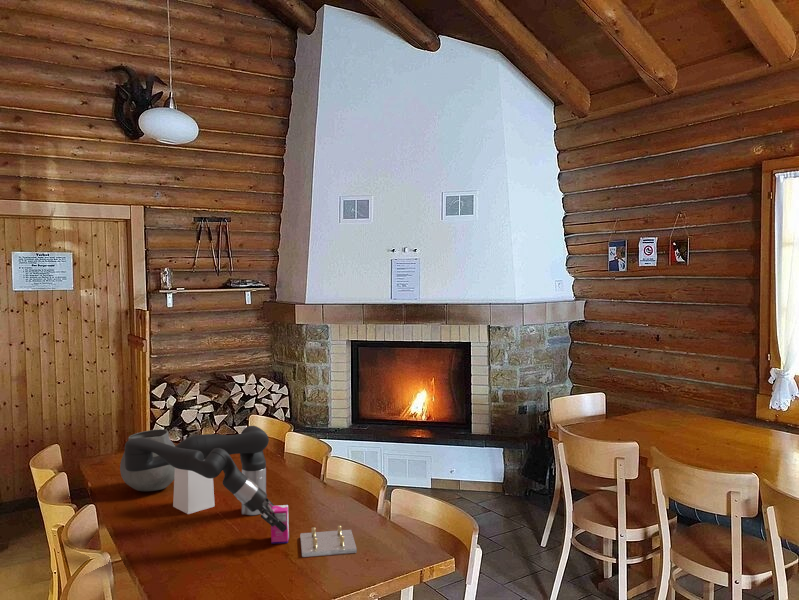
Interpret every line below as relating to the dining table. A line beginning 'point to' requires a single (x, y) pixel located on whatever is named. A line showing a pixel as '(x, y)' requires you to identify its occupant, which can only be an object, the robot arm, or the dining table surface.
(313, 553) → the chassis plate
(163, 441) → the ceramic pot
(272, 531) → the supplement box
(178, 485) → the milk
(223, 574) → the dining table surface
